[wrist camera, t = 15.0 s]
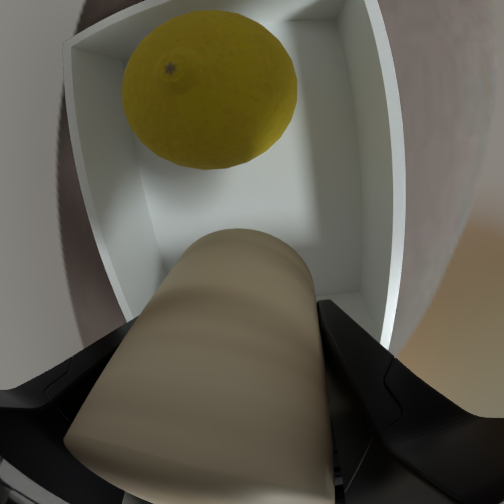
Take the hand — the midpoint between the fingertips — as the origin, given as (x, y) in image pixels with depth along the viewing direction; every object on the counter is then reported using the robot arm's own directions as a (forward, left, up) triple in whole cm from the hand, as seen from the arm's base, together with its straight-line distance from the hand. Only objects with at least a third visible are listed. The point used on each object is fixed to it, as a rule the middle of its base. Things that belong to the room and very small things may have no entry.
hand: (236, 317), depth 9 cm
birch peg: (0, 0, -1) cm, 1 cm away
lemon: (+7, 0, -7) cm, 10 cm away
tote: (+4, 0, -7) cm, 8 cm away
